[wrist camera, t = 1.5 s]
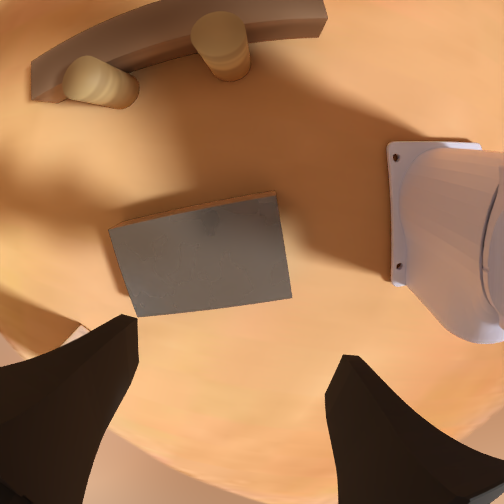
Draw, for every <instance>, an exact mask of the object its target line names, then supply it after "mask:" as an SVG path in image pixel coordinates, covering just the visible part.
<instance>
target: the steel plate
mask: <svg viewBox="0 0 504 504" xmlns="http://www.w3.org/2000/svg"><path fill="white" fill-rule="evenodd" d="M108 231H109V234H110V238H111V241H112V244H113V248H114V251H115V254H116V257H117V261H118V264H119V267H120V270H121V273H122V276H123V279H124V282H125V284H126V287H127V290H128V293H129V296H130V298H131V301H132V304H133V307H134V309H135V312H136V314H137V317H146V316H156V315H166V314H176V313H185V312H194V311H202V310H210V309H218V308H226V307H234V306H241V305H248V304H255V303H262V302H269V301H276V300H282V299H289V298H292V292H291V285H290V279H289V272H288V266H287V259H286V253H285V246H284V240H283V234H282V228H281V222H280V216H279V210H278V204H277V198H276V194H275V190H274V191H268V192H263V193H257V194H251V195H246V196H240V197H235V198H229V199H224V200H219V201H214V202H209V203H204V204H199V205H194V206H189V207H185V208H180V209H175V210H171V211H166V212H162V213H157V214H153V215H148V216H144V217H140V218H136V219H131V220H127V221H123V222H121V223H119V224H118V225H116V226H114V227H112V228H111V229H109V230H108Z"/></svg>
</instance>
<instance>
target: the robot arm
mask: <svg viewBox="0 0 504 504" xmlns="http://www.w3.org/2000/svg"><path fill="white" fill-rule="evenodd" d="M386 151H387V161H388V172H389V185H390V203H391V282H392V284H393V285H394V286H396V287H399V286H405V285H406V286H407V287H408V288H409V289H410V290H411V291H412V292H413V293H414V294H415V295H416V296H417V297H418V299H419V300H420V301H421V302H422V303H423V304H424V305H425V306H426V307H427V309H428V310H429V311H430V312H431V313H432V314H433V315H434V316H435V318H436V319H437V320H438V321H439V322H440V323H441V325H442V326H443V327H444V328H445V329H447V330H448V331H449V332H451V333H452V334H454V335H456V336H457V337H459V338H462V339H464V340H467V341H469V342H473V343H479V344H492V343H498V342H502V341H504V152H496V151H486V150H482V147H481V145H480V144H479V143H469V142H444V141H395V142H390V143H389V144H388V145H387V148H386ZM394 154H396V155H397V157H398V159H397V161H396V162H395V161H394V160H393V155H394ZM398 263H401V265H400V267H399V268H396V266H397V264H398ZM138 363H139V355H138V326H137V318H134V317H130V316H127V315H123V314H121V315H119V316H117V317H115V318H113V319H112V320H110V321H108V322H106V323H105V324H103V325H101V326H99V327H97V328H96V329H94V330H92V331H90V332H88V333H87V334H85V335H83V336H81V337H79V338H77V339H75V340H73V341H71V342H69V343H67V344H65V345H63V346H61V347H59V348H57V349H55V350H52V351H50V352H48V353H45V354H43V355H40V356H37V357H34V358H32V359H29V360H26V361H22V362H19V363H15V364H11V365H7V366H3V367H0V504H82V502H83V498H84V494H85V490H86V485H87V482H88V478H89V475H90V472H91V469H92V465H93V462H94V459H95V456H96V453H97V451H98V448H99V445H100V442H101V440H102V437H103V435H104V433H105V431H106V429H107V427H108V425H109V423H110V421H111V420H112V418H113V416H114V414H115V412H116V410H117V408H118V407H119V405H120V403H121V401H122V399H123V397H124V396H125V394H126V392H127V390H128V388H129V386H130V384H131V382H132V379H133V377H134V374H135V371H136V369H137V366H138ZM325 409H326V419H327V425H328V430H329V435H330V440H331V444H332V449H333V454H334V459H335V464H336V471H337V479H338V504H490V503H491V502H492V501H494V500H495V499H496V498H498V497H499V496H500V495H501V494H502V493H503V492H504V460H501V459H498V458H495V457H492V456H489V455H486V454H483V453H481V452H478V451H476V450H474V449H472V448H470V447H468V446H466V445H464V444H462V443H460V442H458V441H456V440H455V439H453V438H451V437H450V436H448V435H446V434H445V433H443V432H442V431H440V430H439V429H437V428H436V427H434V426H433V425H432V424H430V423H429V422H428V421H426V420H425V419H424V418H422V417H421V416H420V415H419V414H417V413H416V412H415V411H414V410H413V409H412V408H411V407H410V406H408V405H407V404H406V403H405V402H404V401H403V400H402V399H401V398H400V397H399V396H398V395H397V394H396V393H395V392H394V391H393V390H392V389H391V388H390V387H389V386H388V385H387V384H386V383H385V382H384V381H383V380H382V379H381V378H380V377H379V376H378V375H377V374H376V373H375V372H374V371H373V370H372V369H371V368H370V366H369V365H368V364H367V363H366V362H365V361H364V360H362V359H361V358H360V357H359V356H354V355H343V356H342V358H341V360H340V363H339V365H338V367H337V369H336V372H335V374H334V376H333V378H332V380H331V382H330V384H329V387H328V389H327V391H326V393H325Z"/></svg>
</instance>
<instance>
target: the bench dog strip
mask: <svg viewBox="0 0 504 504" xmlns="http://www.w3.org/2000/svg"><path fill="white" fill-rule="evenodd" d="M327 19H328V16H327V13H326V9H325V6H324V2H323V0H160V1H157V2H154V3H151V4H148V5H145V6H142V7H139V8H137V9H134V10H131V11H129V12H126V13H123V14H121V15H119V16H116V17H114V18H111V19H109V20H107V21H104V22H102V23H100V24H98V25H96V26H94V27H91V28H89V29H87V30H85V31H83V32H81V33H79V34H77V35H75V36H74V37H72V38H70V39H68V40H66V41H64V42H63V43H61V44H59V45H57V46H56V47H54V48H52V49H51V50H49V51H47V52H46V53H44V54H42V55H41V56H39V57H38V58H36V59H35V60H33V61H32V62H31V99H32V100H36V101H44V102H52V103H59V102H61V101H63V100H65V99H67V98H69V99H72V100H77V101H82V102H87V103H92V104H97V105H101V106H106V107H110V108H115V109H124V108H127V107H129V106H130V105H131V104H132V103H133V102H134V101H135V100H136V98H137V96H138V94H139V83H138V81H137V79H136V78H135V77H134V76H132V75H130V74H128V73H130V72H133V71H135V70H138V69H141V68H144V67H148V66H151V65H154V64H157V63H161V62H164V61H168V60H171V59H175V58H179V57H182V56H186V55H191V54H195V53H199V54H200V56H201V57H202V58H203V60H204V61H205V63H206V64H207V66H208V67H209V68H210V70H211V71H212V73H213V74H214V75H215V76H216V77H217V78H218V79H220V80H223V81H236V80H239V79H241V78H242V77H244V76H245V75H246V74H247V73H248V71H249V69H250V66H251V59H250V53H249V47H248V43H255V42H263V41H272V40H283V39H296V38H317V37H319V36H320V34H321V32H322V29H323V27H324V25H325V23H326V21H327Z"/></svg>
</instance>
